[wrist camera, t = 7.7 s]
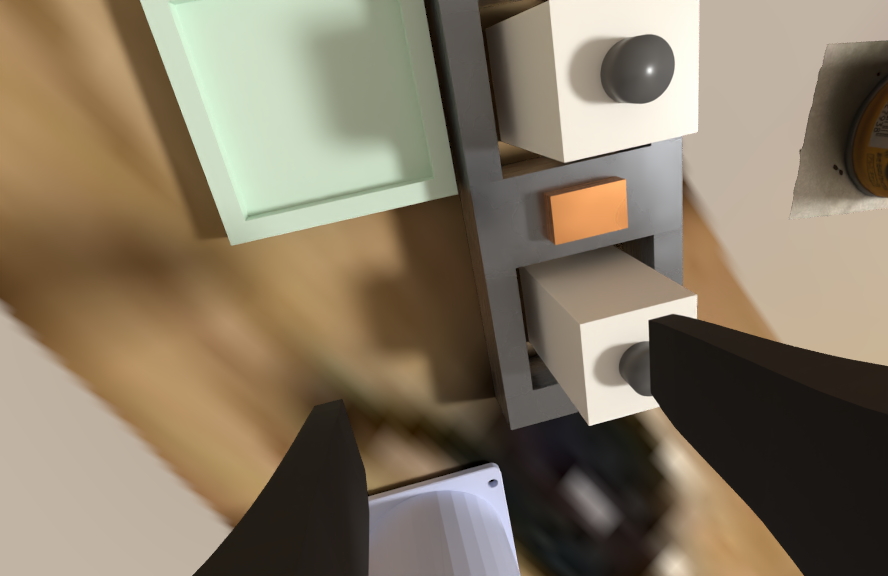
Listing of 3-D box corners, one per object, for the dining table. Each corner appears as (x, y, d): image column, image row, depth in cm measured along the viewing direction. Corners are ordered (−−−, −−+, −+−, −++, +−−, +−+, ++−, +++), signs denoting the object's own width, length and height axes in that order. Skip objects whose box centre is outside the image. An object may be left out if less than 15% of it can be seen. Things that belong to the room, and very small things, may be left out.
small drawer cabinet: (652, 356, 25) (692, 392, 22) (495, 397, 24) (515, 440, 21) (638, -78, 18) (695, -111, 15) (418, -37, 17) (432, -64, 14)
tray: (452, 188, 20) (458, 194, 19) (238, 236, 19) (231, 245, 18) (406, -62, 17) (410, -73, 16) (146, -15, 16) (131, -23, 15)
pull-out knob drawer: (610, 321, 24) (710, 409, 17) (529, 341, 23) (599, 440, 17) (605, 240, 22) (713, 304, 16) (518, 261, 22) (590, 335, 15)
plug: (596, 120, 20) (717, 134, 14) (500, 141, 20) (576, 166, 13) (589, 7, 19) (720, -37, 12) (485, 28, 18) (561, -6, 12)
